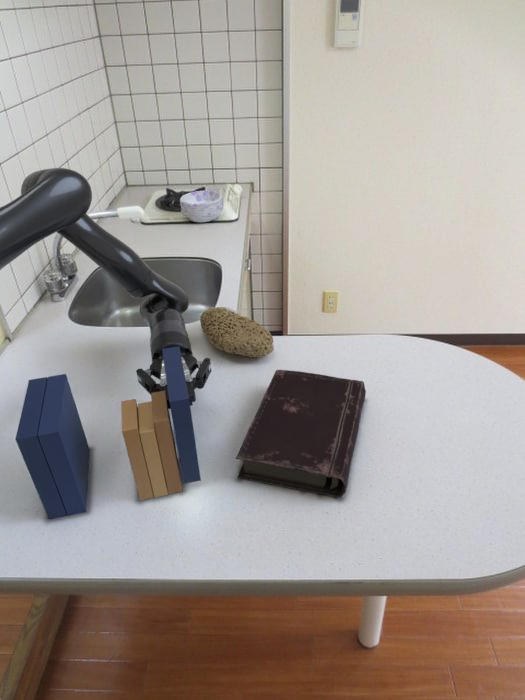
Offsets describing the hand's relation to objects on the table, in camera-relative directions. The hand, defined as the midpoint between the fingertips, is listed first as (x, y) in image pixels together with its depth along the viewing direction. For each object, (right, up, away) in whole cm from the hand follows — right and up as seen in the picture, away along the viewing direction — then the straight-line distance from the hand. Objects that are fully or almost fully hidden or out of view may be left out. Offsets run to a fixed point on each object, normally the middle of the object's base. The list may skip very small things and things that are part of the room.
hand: (179, 402), depth 86 cm
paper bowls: (-8, +56, +104) cm, 118 cm away
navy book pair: (-18, -13, +2) cm, 23 cm away
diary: (+21, -7, +8) cm, 24 cm away
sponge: (+8, +10, +34) cm, 36 cm away
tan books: (-3, -13, +1) cm, 13 cm away
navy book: (+1, -9, +4) cm, 10 cm away
